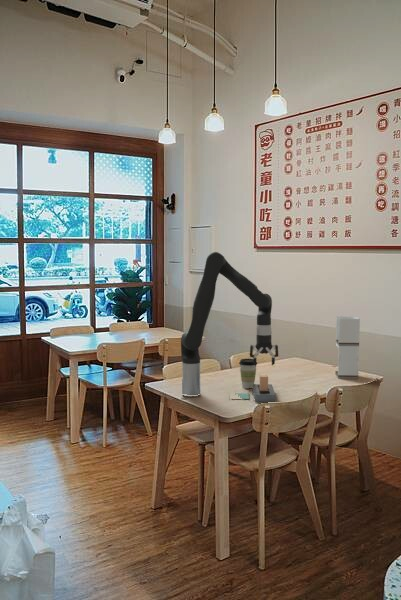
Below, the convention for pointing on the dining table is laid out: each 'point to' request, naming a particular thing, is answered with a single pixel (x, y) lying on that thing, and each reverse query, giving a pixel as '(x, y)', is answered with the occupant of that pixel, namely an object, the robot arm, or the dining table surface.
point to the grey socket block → (264, 394)
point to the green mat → (243, 395)
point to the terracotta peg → (263, 382)
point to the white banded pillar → (347, 346)
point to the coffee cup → (247, 372)
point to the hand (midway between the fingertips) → (264, 365)
